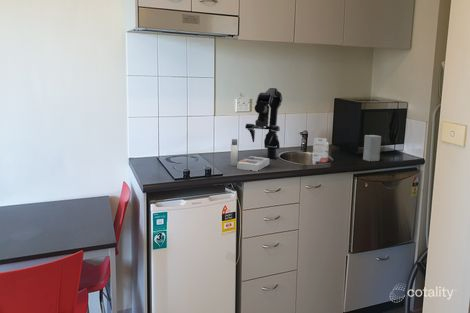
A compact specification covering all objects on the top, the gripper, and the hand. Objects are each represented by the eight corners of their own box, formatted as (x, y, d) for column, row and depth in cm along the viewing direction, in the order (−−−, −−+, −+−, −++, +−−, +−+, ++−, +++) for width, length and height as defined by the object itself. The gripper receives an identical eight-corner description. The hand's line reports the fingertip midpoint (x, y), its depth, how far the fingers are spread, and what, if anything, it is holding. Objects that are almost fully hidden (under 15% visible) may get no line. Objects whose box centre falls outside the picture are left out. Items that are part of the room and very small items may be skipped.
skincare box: (369, 161, 264) (371, 136, 261) (361, 159, 271) (363, 134, 267) (380, 161, 268) (382, 136, 264) (372, 158, 274) (374, 134, 271)
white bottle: (231, 164, 248) (231, 138, 245) (237, 164, 248) (238, 139, 244) (230, 165, 244) (230, 139, 241) (236, 166, 244) (237, 140, 241)
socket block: (250, 161, 255) (250, 155, 255) (269, 164, 251) (269, 157, 250) (236, 168, 238) (237, 161, 237) (257, 171, 233) (257, 164, 232)
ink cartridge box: (327, 161, 263) (329, 137, 260) (325, 162, 259) (327, 138, 256) (314, 159, 267) (316, 136, 264) (312, 160, 263) (313, 137, 260)
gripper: (243, 112, 236) (241, 140, 236) (276, 114, 230) (274, 143, 231) (249, 114, 247) (246, 141, 247) (281, 116, 241) (278, 144, 241)
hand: (261, 142), depth 241 cm, fingers open, 9 cm apart
